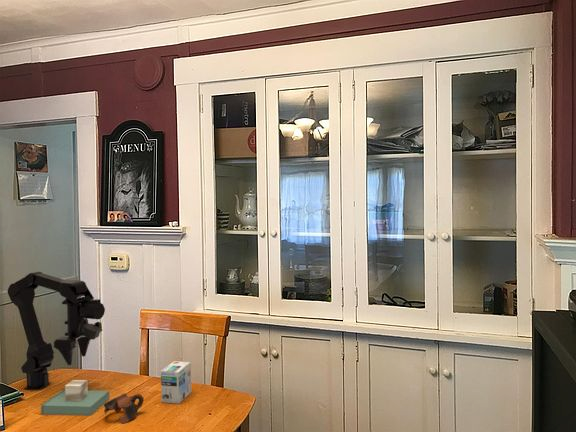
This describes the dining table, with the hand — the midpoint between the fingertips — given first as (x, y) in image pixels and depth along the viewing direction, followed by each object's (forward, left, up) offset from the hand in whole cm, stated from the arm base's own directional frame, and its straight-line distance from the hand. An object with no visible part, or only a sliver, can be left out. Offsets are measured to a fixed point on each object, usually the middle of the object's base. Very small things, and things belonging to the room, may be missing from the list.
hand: (76, 360), depth 175 cm
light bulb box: (+37, -3, -12) cm, 39 cm away
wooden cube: (+6, -12, -9) cm, 16 cm away
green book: (+6, -12, -12) cm, 17 cm away
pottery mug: (+25, -18, -12) cm, 33 cm away
